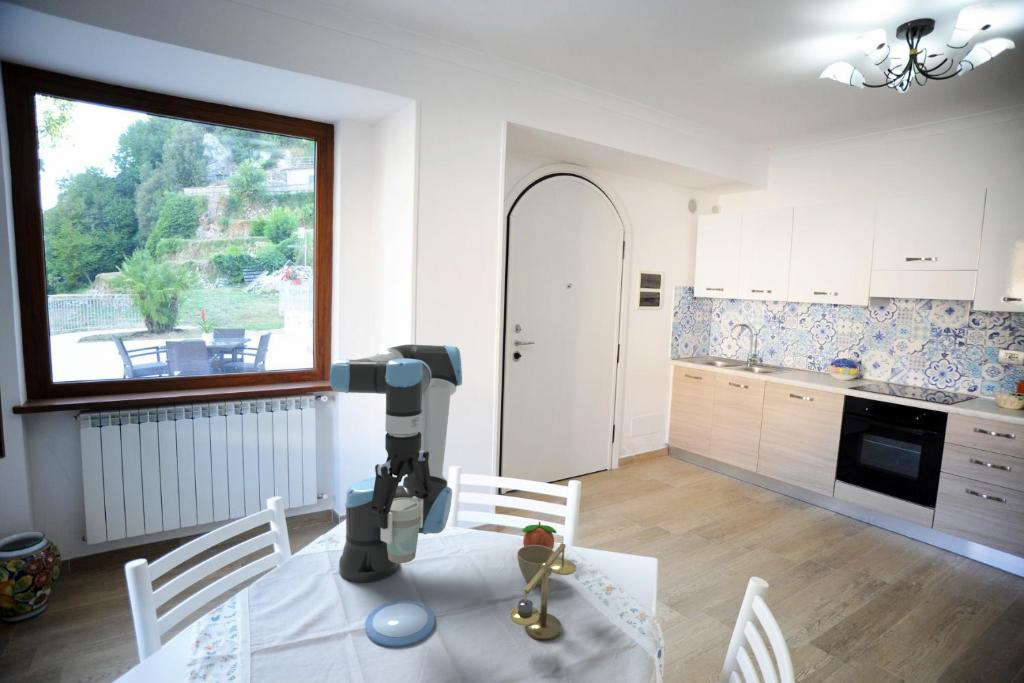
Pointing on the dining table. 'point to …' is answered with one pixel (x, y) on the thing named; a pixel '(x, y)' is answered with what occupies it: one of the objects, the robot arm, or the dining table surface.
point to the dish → (399, 623)
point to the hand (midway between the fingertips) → (402, 533)
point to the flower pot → (533, 560)
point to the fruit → (539, 535)
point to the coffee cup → (404, 529)
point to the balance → (542, 600)
